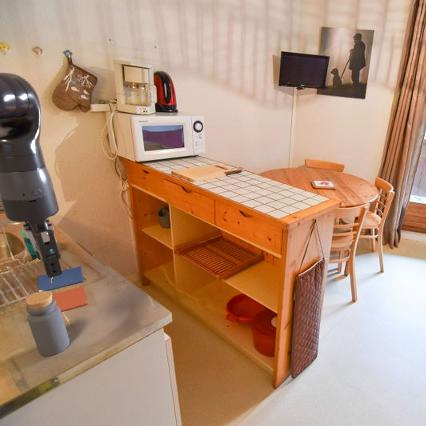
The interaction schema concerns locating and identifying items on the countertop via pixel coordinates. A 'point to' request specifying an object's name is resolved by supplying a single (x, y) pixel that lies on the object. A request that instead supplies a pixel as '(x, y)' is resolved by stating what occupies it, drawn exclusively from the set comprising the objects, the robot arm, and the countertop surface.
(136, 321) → the countertop surface
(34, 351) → the countertop surface
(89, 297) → the countertop surface
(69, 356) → the countertop surface
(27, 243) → the cup
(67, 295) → the mats
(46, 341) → the bottle
